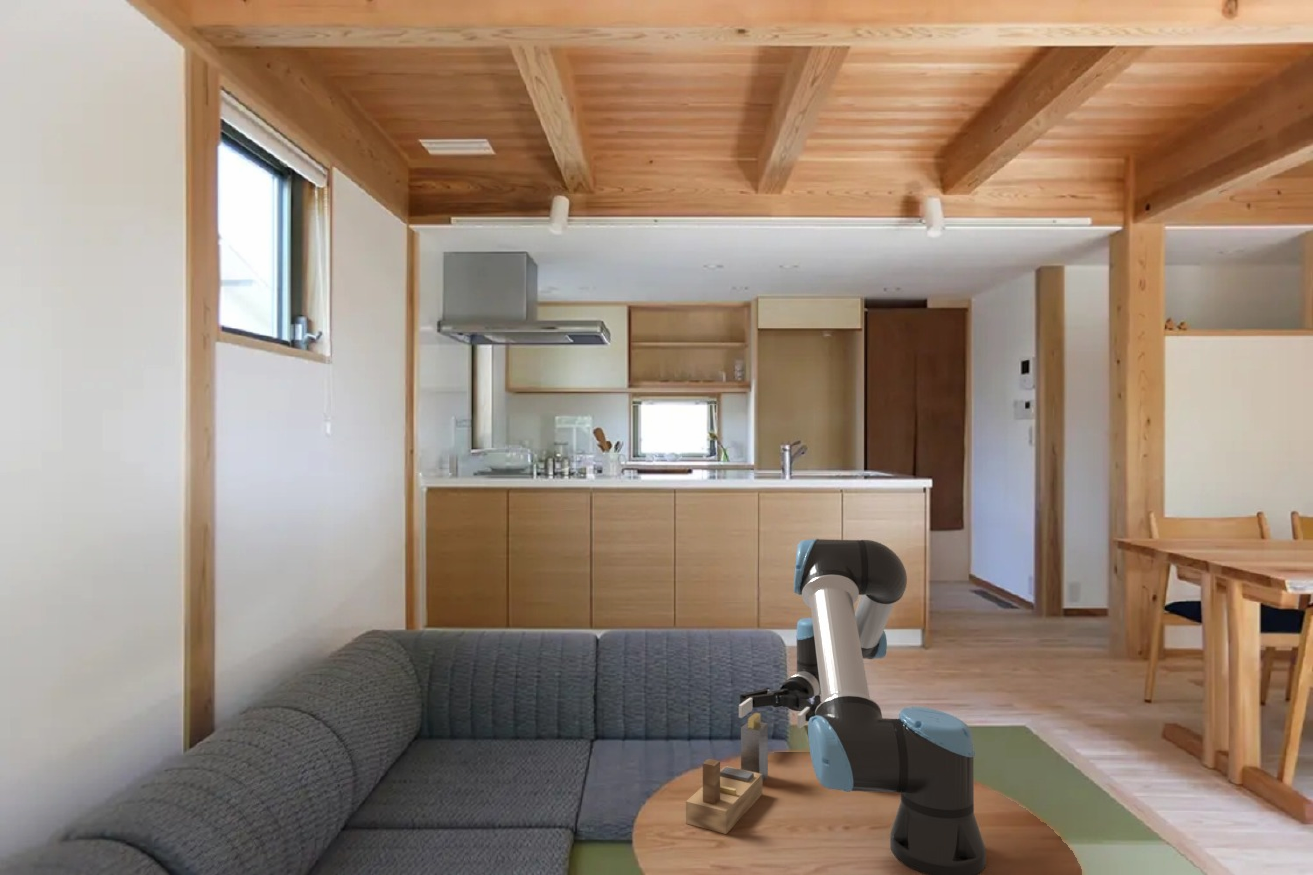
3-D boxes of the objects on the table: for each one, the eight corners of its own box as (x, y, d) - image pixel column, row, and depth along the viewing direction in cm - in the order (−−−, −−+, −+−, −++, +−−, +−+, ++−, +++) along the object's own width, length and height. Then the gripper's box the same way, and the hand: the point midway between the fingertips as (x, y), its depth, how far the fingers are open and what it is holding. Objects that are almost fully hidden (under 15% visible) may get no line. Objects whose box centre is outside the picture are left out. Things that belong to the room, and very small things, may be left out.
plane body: (762, 794, 150) (762, 738, 151) (726, 833, 135) (725, 771, 135) (725, 785, 154) (725, 731, 154) (685, 823, 138) (685, 762, 139)
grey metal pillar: (767, 776, 159) (767, 713, 159) (759, 785, 154) (759, 721, 155) (750, 772, 161) (749, 710, 161) (741, 781, 156) (740, 717, 157)
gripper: (850, 715, 178) (825, 744, 160) (751, 699, 190) (717, 724, 172) (850, 682, 178) (824, 708, 160) (751, 669, 190) (717, 690, 172)
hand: (768, 716), depth 166 cm, fingers open, 13 cm apart
